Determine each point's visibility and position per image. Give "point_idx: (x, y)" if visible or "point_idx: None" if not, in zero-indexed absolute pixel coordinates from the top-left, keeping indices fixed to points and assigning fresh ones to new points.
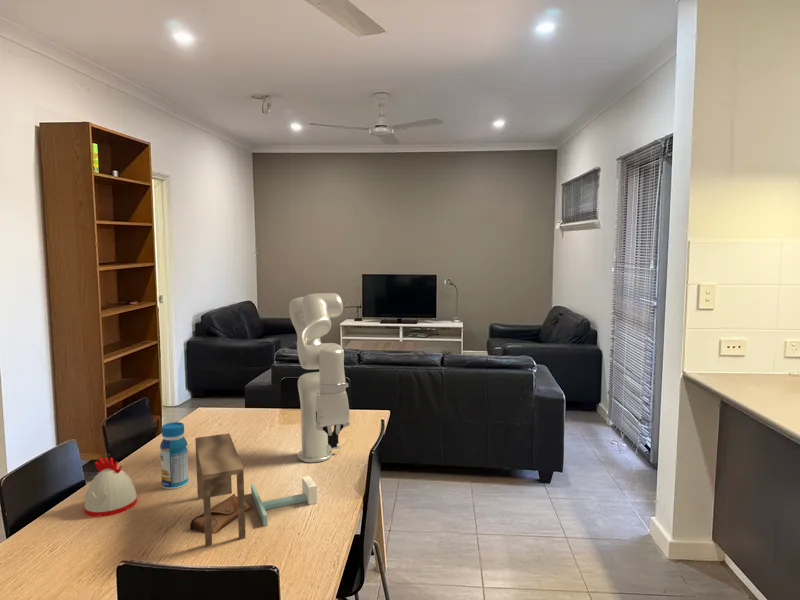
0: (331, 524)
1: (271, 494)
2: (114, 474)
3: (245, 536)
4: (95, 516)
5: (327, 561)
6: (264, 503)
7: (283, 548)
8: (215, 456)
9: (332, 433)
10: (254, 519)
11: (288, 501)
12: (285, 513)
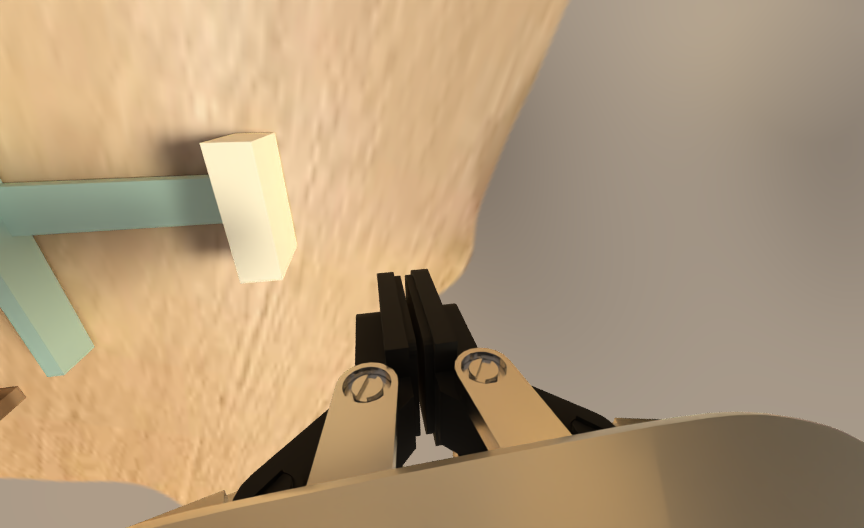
0: (328, 378)
1: (41, 53)
2: None
3: (18, 403)
4: None
5: None
6: (21, 210)
7: (177, 451)
8: None
9: (411, 444)
10: None
11: (158, 226)
12: (161, 278)
